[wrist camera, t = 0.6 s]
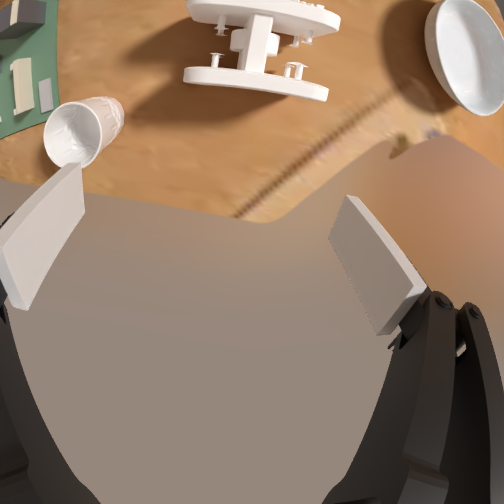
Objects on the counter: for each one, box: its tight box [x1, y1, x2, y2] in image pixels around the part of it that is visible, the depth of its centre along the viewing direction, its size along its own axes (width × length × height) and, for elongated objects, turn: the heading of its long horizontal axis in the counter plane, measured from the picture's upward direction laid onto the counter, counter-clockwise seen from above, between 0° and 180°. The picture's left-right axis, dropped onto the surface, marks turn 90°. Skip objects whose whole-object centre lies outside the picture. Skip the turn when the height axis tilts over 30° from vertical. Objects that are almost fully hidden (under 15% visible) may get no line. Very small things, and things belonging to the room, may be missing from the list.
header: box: [0, 58, 34, 122], centre depth 22 cm, size 8×11×4 cm
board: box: [0, 0, 60, 139], centre depth 20 cm, size 22×16×3 cm
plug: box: [0, 0, 47, 40], centre depth 14 cm, size 4×6×7 cm, turn 89°
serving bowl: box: [425, 0, 504, 116], centre depth 24 cm, size 21×21×7 cm
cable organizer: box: [183, 0, 341, 102], centre depth 23 cm, size 15×11×12 cm
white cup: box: [44, 96, 125, 169], centre depth 27 cm, size 8×8×10 cm
